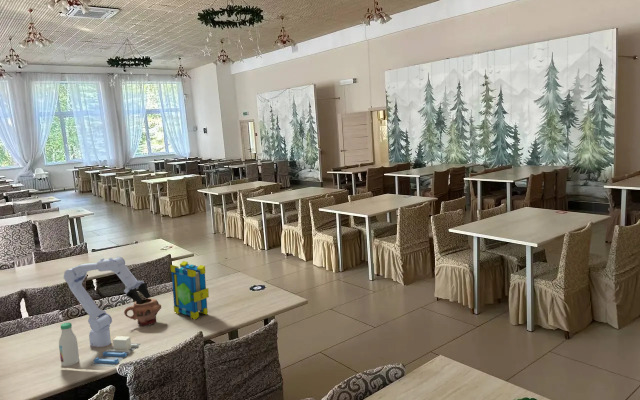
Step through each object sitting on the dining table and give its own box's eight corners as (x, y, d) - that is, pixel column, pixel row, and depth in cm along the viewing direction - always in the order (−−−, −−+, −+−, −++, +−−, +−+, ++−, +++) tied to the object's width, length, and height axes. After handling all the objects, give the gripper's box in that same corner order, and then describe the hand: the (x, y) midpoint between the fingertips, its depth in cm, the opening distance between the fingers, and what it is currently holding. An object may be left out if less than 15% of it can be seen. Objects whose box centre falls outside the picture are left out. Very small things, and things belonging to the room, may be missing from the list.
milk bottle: (82, 359, 233) (78, 320, 230) (74, 367, 226) (70, 327, 223) (66, 360, 233) (61, 321, 230) (58, 368, 225) (53, 327, 222)
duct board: (90, 367, 225) (89, 361, 225) (119, 344, 249) (119, 339, 248) (113, 368, 223) (113, 363, 223) (141, 345, 247) (140, 340, 246)
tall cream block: (113, 350, 239) (112, 339, 238) (118, 347, 243) (117, 336, 242) (126, 351, 238) (125, 340, 237) (131, 348, 242) (130, 336, 241)
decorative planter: (128, 332, 263) (126, 308, 261) (123, 325, 273) (121, 302, 271) (165, 323, 275) (163, 299, 273) (158, 316, 285) (156, 294, 283)
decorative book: (193, 321, 276) (189, 271, 271) (169, 313, 290) (165, 265, 285) (212, 313, 287) (209, 265, 282) (188, 305, 301) (185, 259, 296)
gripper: (124, 277, 230) (142, 299, 230) (141, 269, 244) (157, 290, 244) (114, 285, 232) (132, 308, 231) (131, 278, 246) (148, 298, 245)
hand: (144, 299), depth 238 cm, fingers open, 7 cm apart
